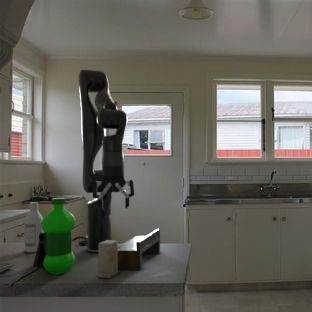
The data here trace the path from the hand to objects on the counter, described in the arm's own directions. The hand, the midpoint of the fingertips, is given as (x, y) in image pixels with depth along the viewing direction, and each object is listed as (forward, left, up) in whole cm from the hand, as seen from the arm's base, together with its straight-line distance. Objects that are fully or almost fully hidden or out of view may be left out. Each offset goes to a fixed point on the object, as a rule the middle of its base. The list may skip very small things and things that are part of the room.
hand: (114, 209), depth 133 cm
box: (+10, -8, -20) cm, 24 cm away
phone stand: (-17, -16, -20) cm, 31 cm away
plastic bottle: (-6, -17, -20) cm, 27 cm away
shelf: (+3, +8, -20) cm, 22 cm away
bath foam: (-42, -12, -20) cm, 48 cm away
